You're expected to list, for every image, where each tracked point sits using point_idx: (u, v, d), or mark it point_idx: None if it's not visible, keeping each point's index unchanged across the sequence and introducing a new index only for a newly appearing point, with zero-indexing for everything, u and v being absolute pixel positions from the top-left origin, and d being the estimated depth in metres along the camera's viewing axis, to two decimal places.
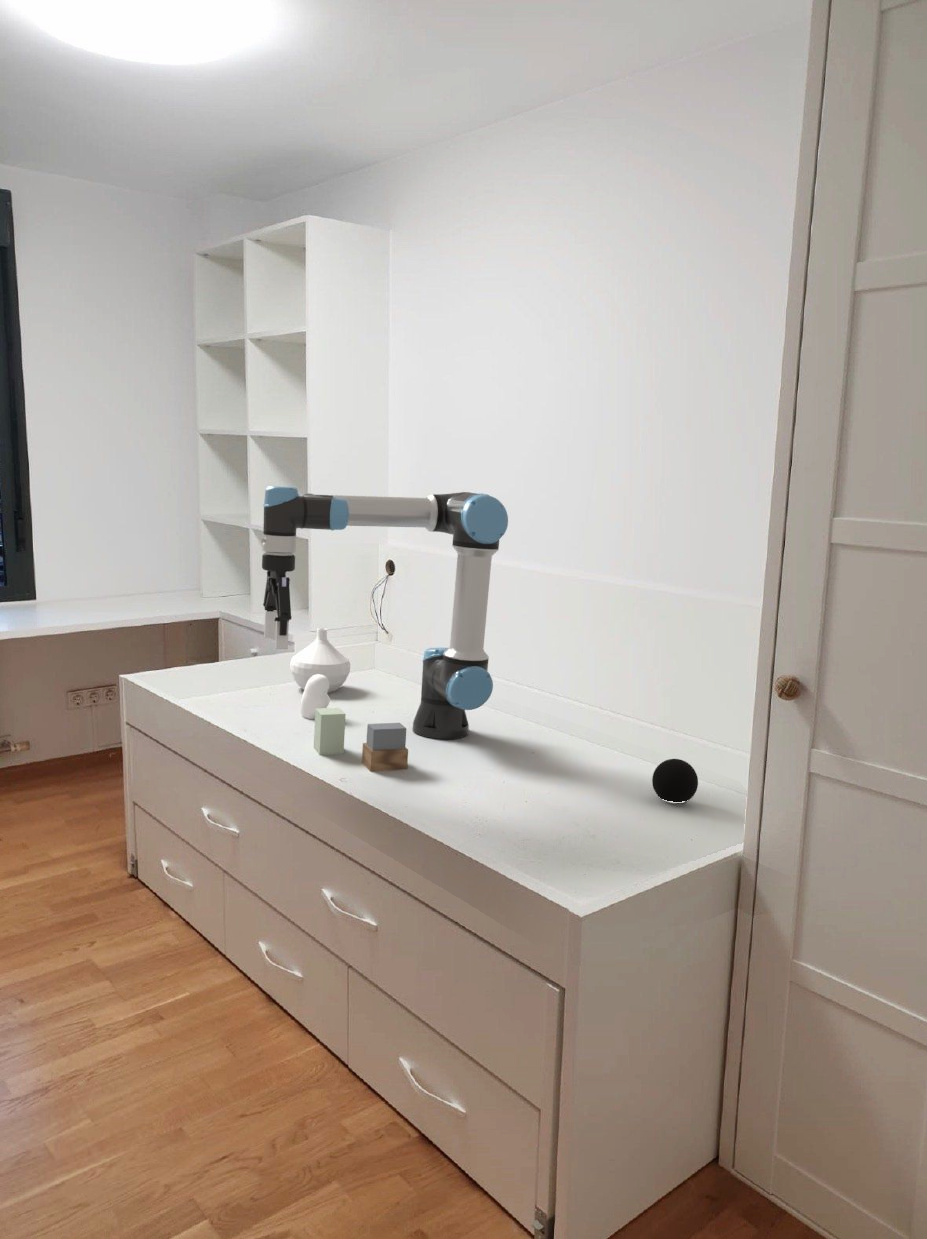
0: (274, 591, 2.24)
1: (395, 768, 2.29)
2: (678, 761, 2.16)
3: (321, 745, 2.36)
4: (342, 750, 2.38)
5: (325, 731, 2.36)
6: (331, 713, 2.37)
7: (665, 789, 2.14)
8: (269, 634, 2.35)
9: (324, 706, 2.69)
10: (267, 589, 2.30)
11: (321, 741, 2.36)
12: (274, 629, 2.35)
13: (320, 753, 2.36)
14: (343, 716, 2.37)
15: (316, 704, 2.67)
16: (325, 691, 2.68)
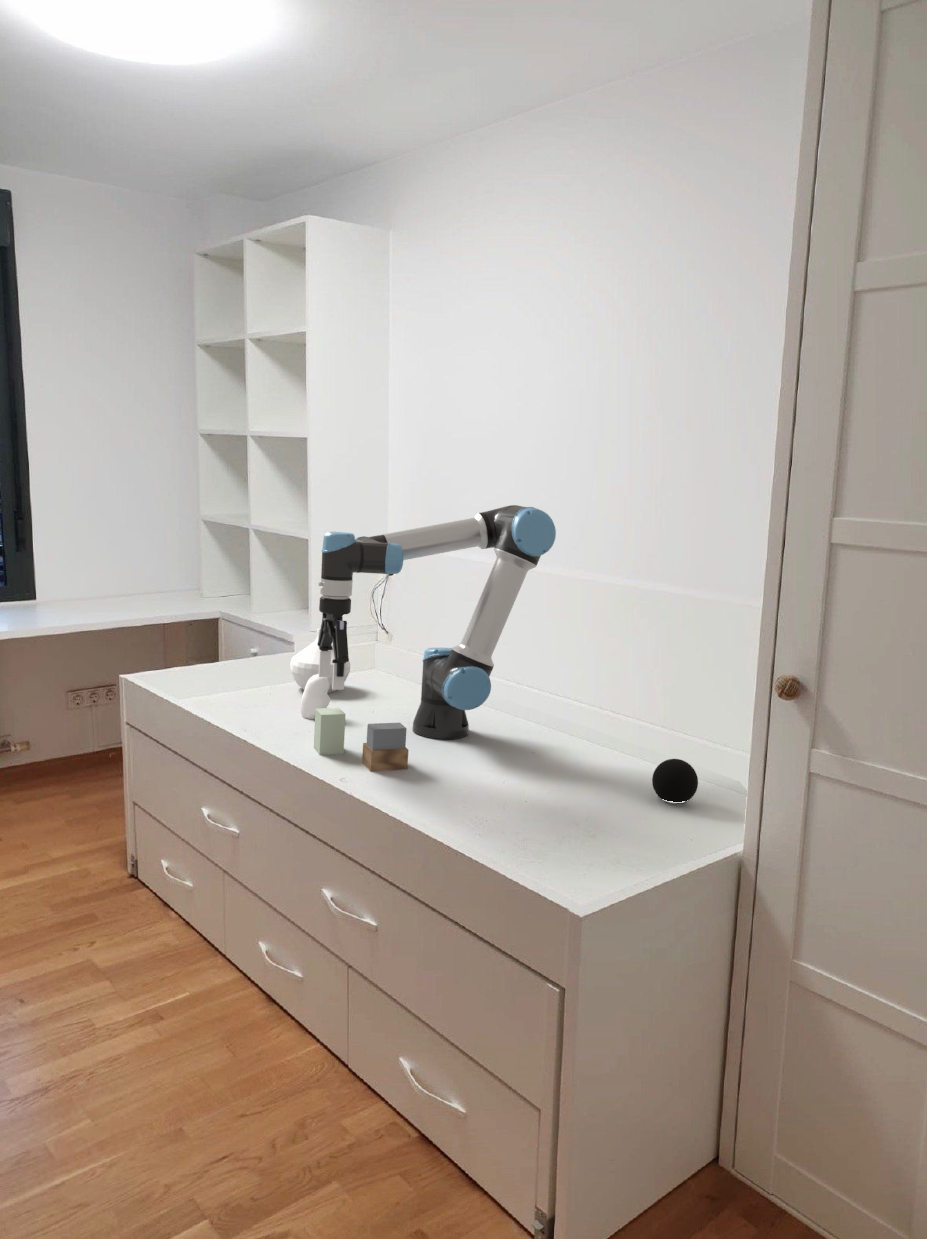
0: (331, 633, 2.32)
1: (395, 768, 2.29)
2: (678, 761, 2.16)
3: (321, 745, 2.36)
4: (342, 750, 2.38)
5: (325, 731, 2.36)
6: (331, 713, 2.37)
7: (665, 789, 2.14)
8: (323, 673, 2.43)
9: (324, 706, 2.69)
10: (323, 630, 2.38)
11: (321, 741, 2.36)
12: (328, 668, 2.43)
13: (320, 753, 2.36)
14: (343, 716, 2.37)
15: (316, 704, 2.67)
16: (325, 691, 2.68)
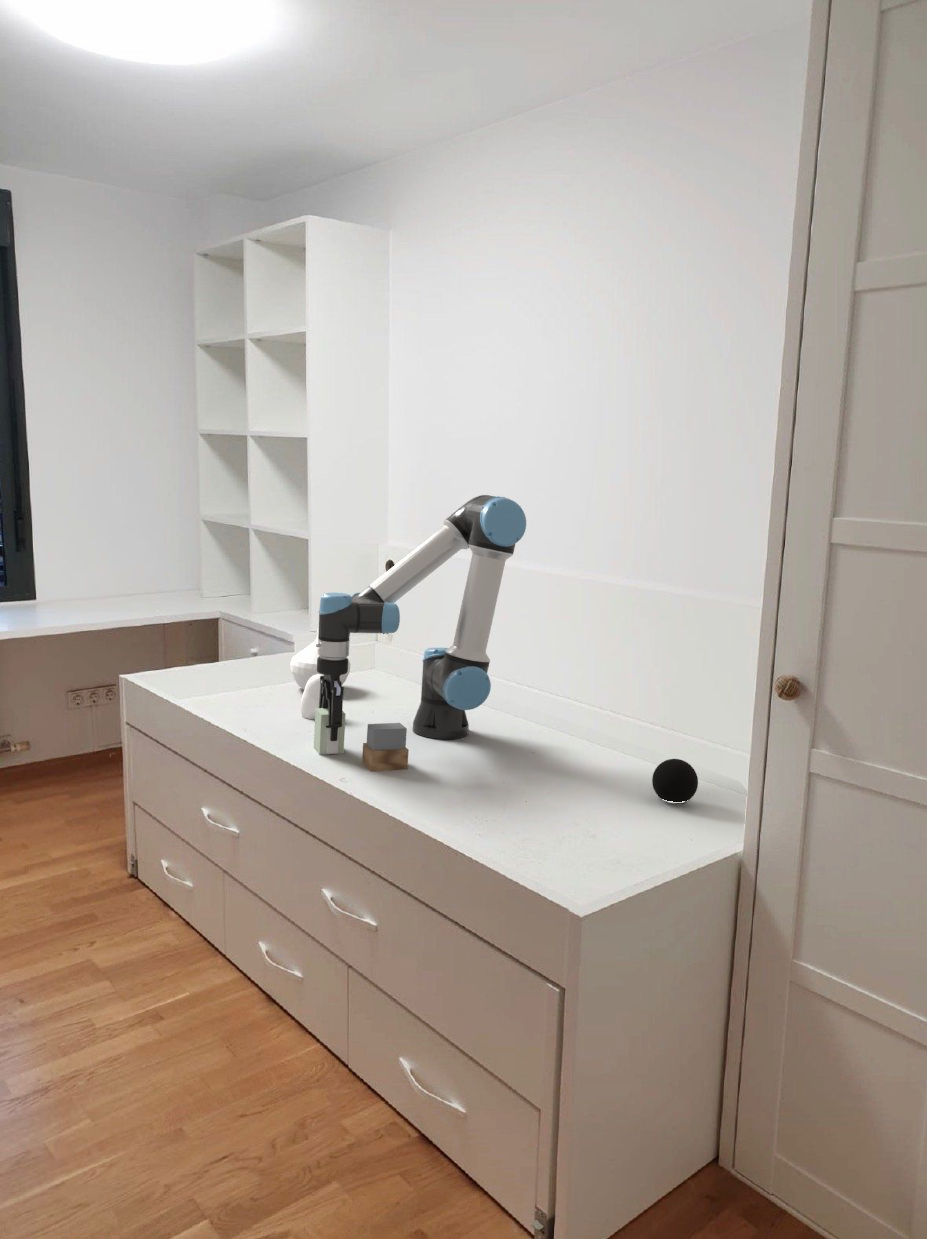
0: (328, 696, 2.35)
1: (395, 768, 2.29)
2: (678, 761, 2.16)
3: (321, 745, 2.36)
4: (342, 750, 2.38)
5: (325, 731, 2.36)
6: None
7: (665, 789, 2.14)
8: None
9: None
10: (322, 693, 2.39)
11: (321, 741, 2.36)
12: None
13: (320, 753, 2.36)
14: (343, 716, 2.37)
15: (316, 704, 2.67)
16: None
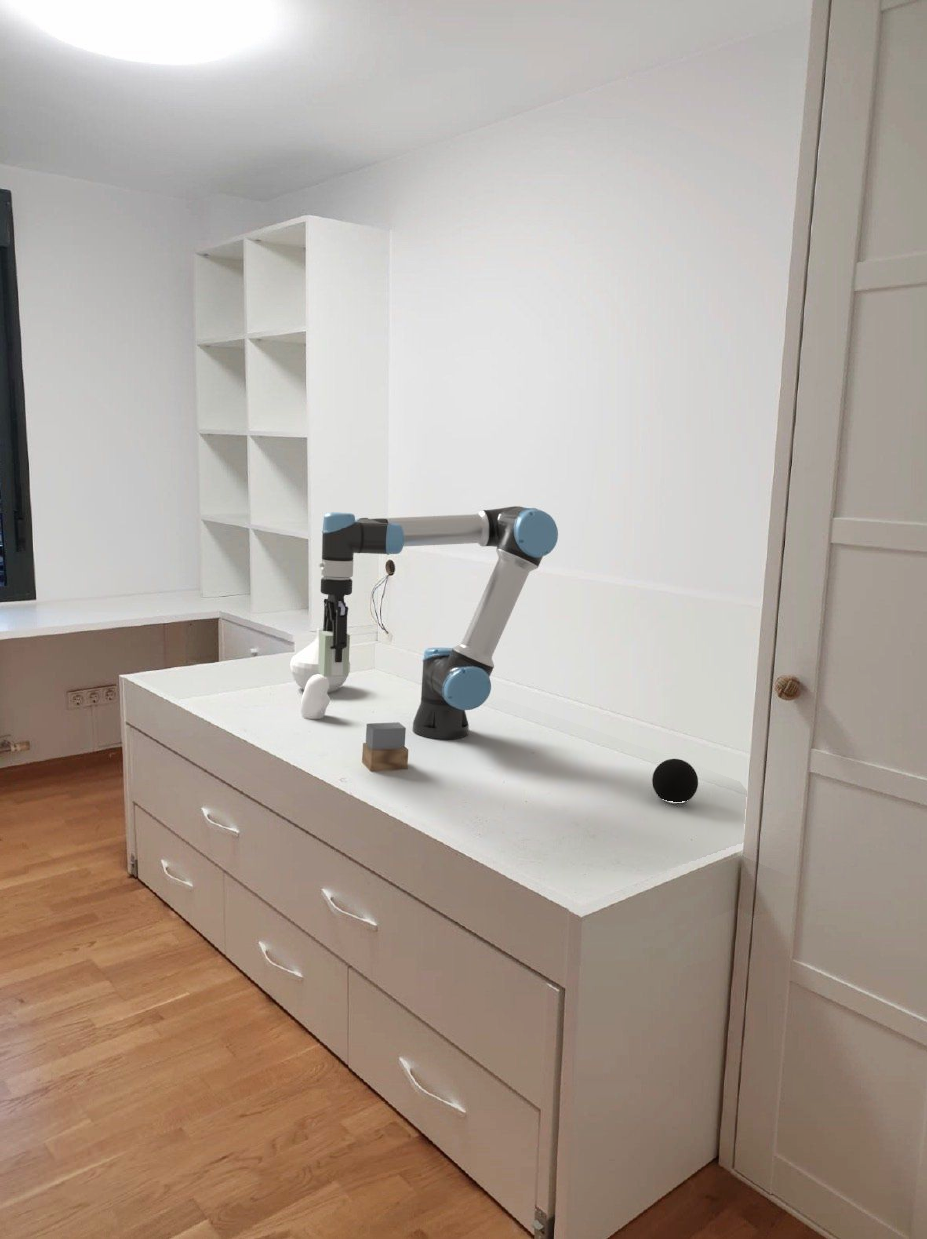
0: (332, 617, 2.32)
1: (395, 768, 2.29)
2: (678, 761, 2.16)
3: (325, 667, 2.33)
4: (347, 672, 2.36)
5: (330, 653, 2.33)
6: None
7: (665, 789, 2.14)
8: None
9: (324, 706, 2.69)
10: (326, 615, 2.37)
11: (325, 663, 2.33)
12: None
13: (324, 675, 2.34)
14: (347, 637, 2.34)
15: (316, 704, 2.67)
16: (325, 691, 2.68)
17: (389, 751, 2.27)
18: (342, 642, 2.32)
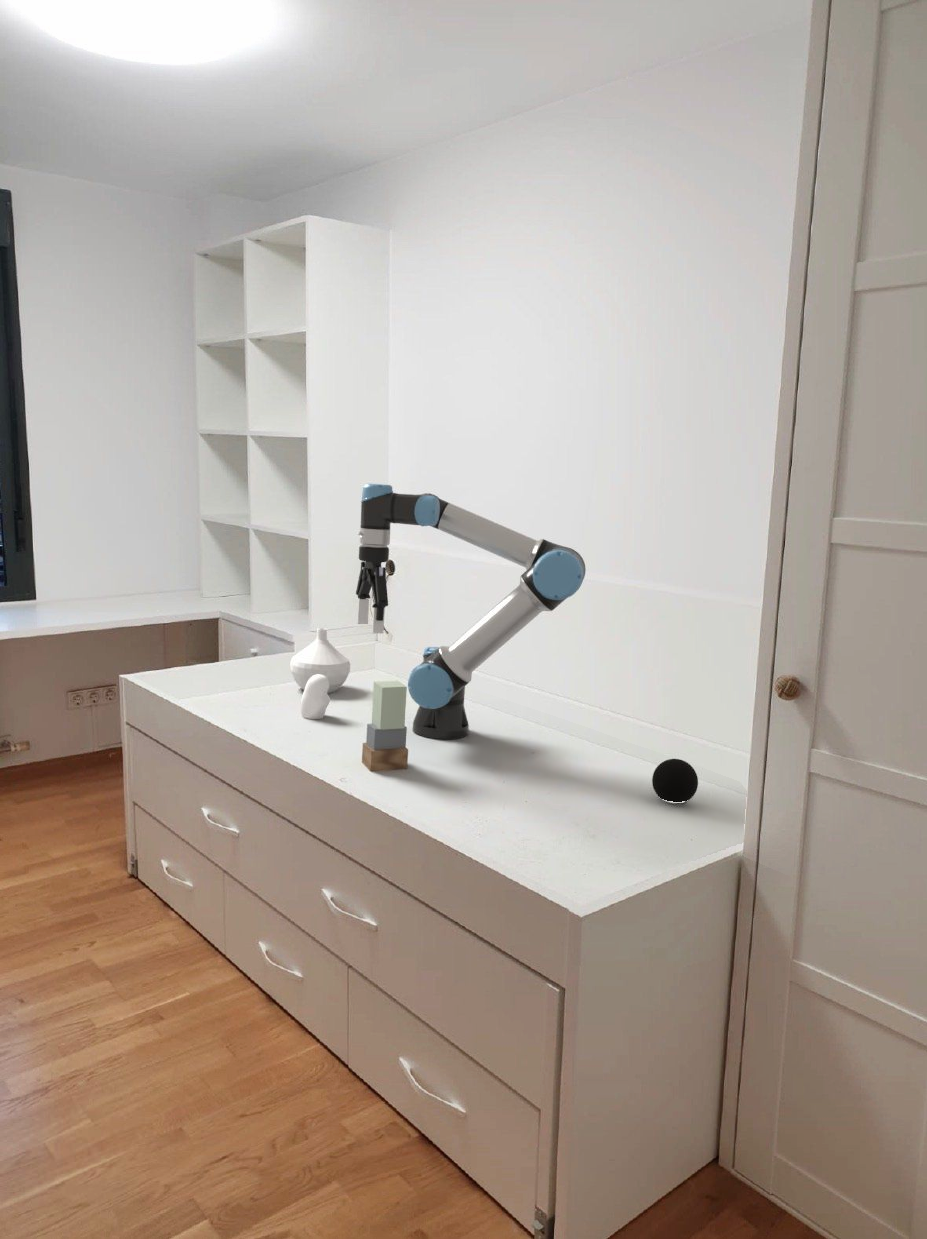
0: (371, 580, 2.44)
1: (395, 768, 2.29)
2: (678, 761, 2.16)
3: (382, 719, 2.26)
4: (403, 724, 2.28)
5: (386, 705, 2.26)
6: (392, 686, 2.26)
7: (665, 789, 2.14)
8: (362, 621, 2.55)
9: (324, 706, 2.69)
10: (362, 578, 2.50)
11: (382, 715, 2.26)
12: (366, 615, 2.55)
13: (381, 728, 2.26)
14: (404, 689, 2.27)
15: (316, 704, 2.67)
16: (325, 691, 2.68)
17: (389, 751, 2.27)
18: (383, 601, 2.42)
